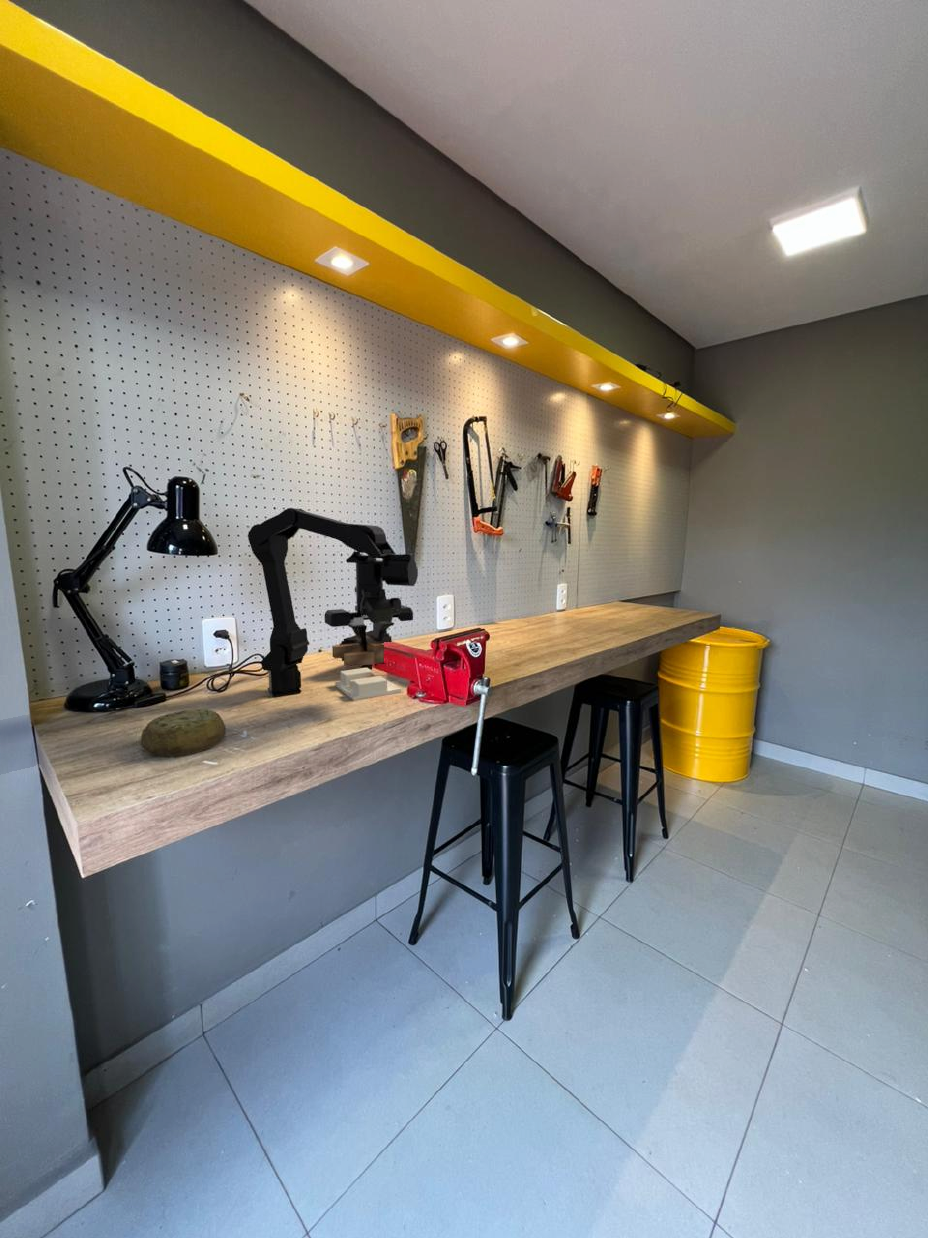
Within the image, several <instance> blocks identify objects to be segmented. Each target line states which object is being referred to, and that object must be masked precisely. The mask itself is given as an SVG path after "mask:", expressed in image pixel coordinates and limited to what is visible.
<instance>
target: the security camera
mask: <svg viewBox="0 0 928 1238" xmlns="http://www.w3.org/2000/svg"><path fill="white" fill-rule="evenodd" d="M366 636H368V637H370V638H372V639H373V629H372V630H369V631H366ZM384 642H392V636H390V633H388V630H386V632H385V634H384V636H383V639H382V641H381V643H384ZM354 643H358V639H357V637H356V635H355V634H354V635H352V636H349V637H345V638H343V640H341V643H339V644H338V645H344V644H354ZM341 661H342V662H344V657H342V658H341ZM360 668H368V669H370V670H373V669H372V665H371V664H369V665H362V666H359V668H358V669H360Z"/></svg>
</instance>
